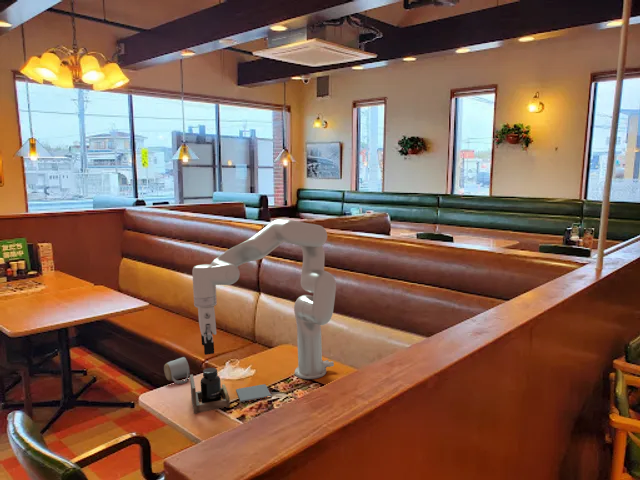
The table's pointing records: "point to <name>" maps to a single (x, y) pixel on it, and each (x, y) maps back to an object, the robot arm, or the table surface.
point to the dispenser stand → (209, 405)
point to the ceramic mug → (177, 370)
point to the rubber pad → (252, 392)
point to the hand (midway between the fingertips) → (207, 349)
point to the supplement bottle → (210, 386)
